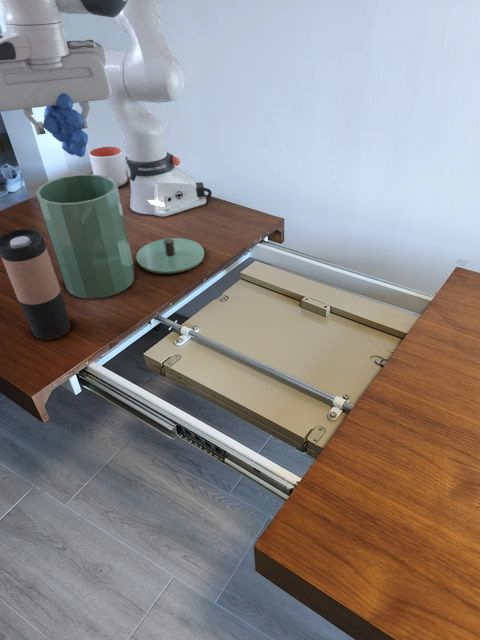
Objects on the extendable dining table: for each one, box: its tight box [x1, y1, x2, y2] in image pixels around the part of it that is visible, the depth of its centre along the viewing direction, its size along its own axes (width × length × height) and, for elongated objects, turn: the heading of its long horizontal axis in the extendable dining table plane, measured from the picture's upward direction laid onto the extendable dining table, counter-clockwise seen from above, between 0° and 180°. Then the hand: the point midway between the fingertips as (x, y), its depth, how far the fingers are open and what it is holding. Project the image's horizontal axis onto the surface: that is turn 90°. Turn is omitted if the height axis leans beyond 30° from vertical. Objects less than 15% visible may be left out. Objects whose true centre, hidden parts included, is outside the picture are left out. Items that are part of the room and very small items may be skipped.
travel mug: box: [0, 228, 71, 341], centre depth 88 cm, size 8×8×20 cm
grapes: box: [42, 93, 89, 158], centre depth 87 cm, size 12×7×12 cm, turn 48°
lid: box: [135, 237, 205, 275], centre depth 115 cm, size 16×16×5 cm
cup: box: [88, 146, 128, 188], centre depth 149 cm, size 10×10×10 cm
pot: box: [35, 173, 136, 300], centre depth 102 cm, size 15×15×22 cm
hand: (62, 130), depth 88 cm, fingers closed on grapes, 6 cm apart
